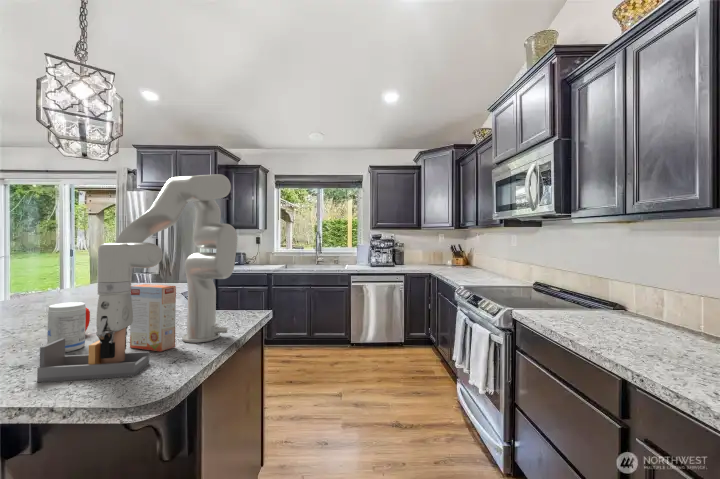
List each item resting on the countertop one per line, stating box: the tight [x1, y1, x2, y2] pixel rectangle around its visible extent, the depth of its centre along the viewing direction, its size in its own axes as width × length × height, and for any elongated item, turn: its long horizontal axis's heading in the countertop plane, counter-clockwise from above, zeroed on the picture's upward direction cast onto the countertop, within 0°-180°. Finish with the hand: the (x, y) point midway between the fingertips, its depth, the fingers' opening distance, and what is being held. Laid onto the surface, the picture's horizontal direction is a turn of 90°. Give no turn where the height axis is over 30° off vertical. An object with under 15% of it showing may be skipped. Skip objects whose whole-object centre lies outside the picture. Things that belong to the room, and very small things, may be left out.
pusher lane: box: [36, 338, 150, 383], centre depth 93 cm, size 22×10×8 cm, turn 101°
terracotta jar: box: [101, 327, 127, 364], centre depth 93 cm, size 6×6×10 cm
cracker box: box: [129, 283, 177, 353], centre depth 115 cm, size 14×6×21 cm, turn 71°
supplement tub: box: [46, 301, 87, 353], centre depth 112 cm, size 10×10×15 cm
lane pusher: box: [88, 339, 101, 364], centre depth 93 cm, size 2×7×7 cm, turn 11°
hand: (113, 353), depth 93 cm, fingers closed on terracotta jar, 5 cm apart
